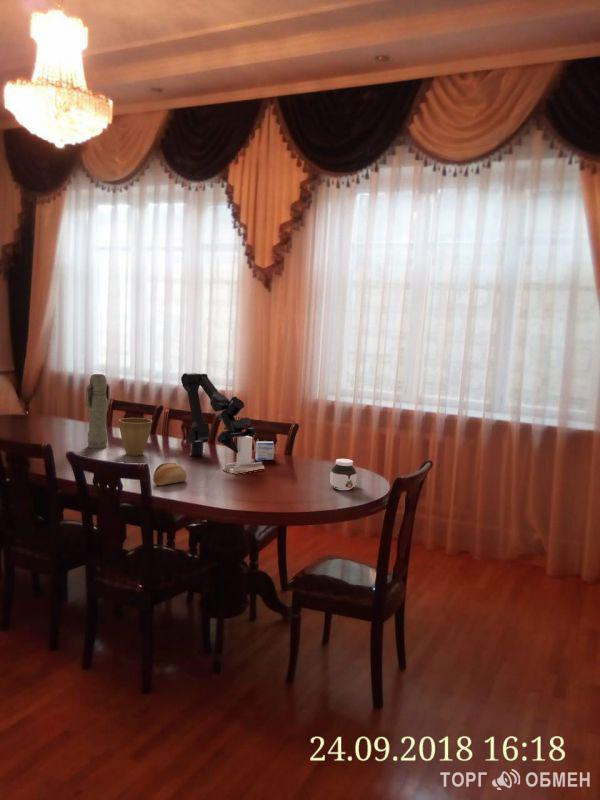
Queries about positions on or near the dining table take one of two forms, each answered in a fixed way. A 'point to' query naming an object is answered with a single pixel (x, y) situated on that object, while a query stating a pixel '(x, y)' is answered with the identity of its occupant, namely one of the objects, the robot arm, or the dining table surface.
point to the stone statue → (97, 410)
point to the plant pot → (135, 434)
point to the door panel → (244, 450)
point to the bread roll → (169, 474)
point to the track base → (243, 467)
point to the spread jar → (343, 474)
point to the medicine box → (264, 450)
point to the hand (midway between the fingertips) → (245, 451)
